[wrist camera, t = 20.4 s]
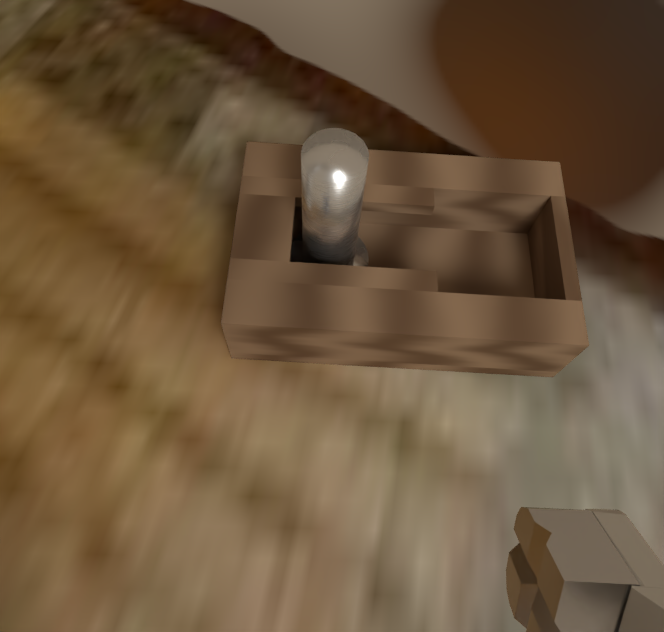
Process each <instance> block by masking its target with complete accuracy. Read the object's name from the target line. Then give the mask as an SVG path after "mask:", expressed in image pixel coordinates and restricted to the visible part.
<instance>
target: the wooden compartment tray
mask: <svg viewBox="0 0 664 632" xmlns="http://www.w3.org/2000/svg"><path fill="white" fill-rule="evenodd" d="M302 146H303V145H293V144H278V143H263V142H248V141H247V144H246V151H245V158H244V165H243V172H242V179H241V186H240V193H239V200H238V207H237V214H236V221H235V228H234V235H233V242H232V249H231V256H230V263H229V270H228V277H227V284H226V291H225V298H224V305H223V312H222V319H221V325H222V328H223V332H224V335H225V338H226V342H227V345H228V348H229V352H230V355H231V358H237V359H253V360H270V361H287V362H304V363H321V364H338V365H355V366H372V367H389V368H406V369H423V370H439V371H456V372H473V373H490V374H507V375H524V376H541V377H554V376H555V375H556V374H557V373H558V372H559V371H561V370H562V369H563V368H564V367H565V366H566V365H567V364H569V363H570V362H571V361H572V360H573V359H574V358H575V357H576V356H578V355H579V354H580V353H581V352H582V351H583V350H584V349H586V348H587V347H588V346H589V342H588V335H587V329H586V323H585V317H584V310H583V304H582V298H581V292H580V286H579V279H578V273H577V267H576V261H575V254H574V248H573V242H572V236H571V229H570V223H569V217H568V211H567V204H566V198H565V192H564V186H563V179H562V173H561V167H560V162H548V161H533V160H517V159H502V158H488V157H473V156H458V155H443V154H428V153H413V152H398V151H383V150H368V152H369V161H368V168H367V175H366V182H365V189H364V196H363V203H362V210H361V217H360V224H359V231H358V237H359V238H360V239H361V240H362V241H363V243H364V245H365V246H366V249H367V252H368V259H369V261H368V267H365V266H349V265H333V264H317V263H301V262H290V261H291V250H292V243H293V242H294V240H295V239H296V238H297V236H299V235H300V234H301V233H302V186H301V149H302Z"/></svg>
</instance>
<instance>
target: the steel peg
mask: <svg viewBox="0 0 664 632" xmlns="http://www.w3.org/2000/svg"><path fill="white" fill-rule="evenodd" d="M368 161H369V152H368V148H367V146H366V144H365V143H364V141H363V140H362V139H361V138H360V137H359V136H357V135H356V134H354V133H353V132H350V131H348V130H345V129H340V128H328V129H323V130H320V131H317V132H315V133H314V134H312V135H311V136H310V137H308V138H307V140H306V141H305V142H304V144H303V146H302V149H301V186H302V233H301V234H300V235H299V236H297V238H296V239H295V240H294V242H293V243H292V250H291V261H290V262H301V263H317V264H333V265H349V266H365V267H368V261H369V259H368V252H367V249H366V246H365V245H364V243H363V241H362V240H361V239H360V238H359V237H358V231H359V224H360V217H361V210H362V203H363V196H364V189H365V182H366V175H367V168H368Z"/></svg>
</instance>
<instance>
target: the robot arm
mask: <svg viewBox="0 0 664 632" xmlns="http://www.w3.org/2000/svg"><path fill="white" fill-rule="evenodd" d="M514 530H515V533H516V535H517V538H518V540H519V542H520V543H519V544H518V545H517V546H516V547H514V548H513V549H512V550H511V551H510V552H509V556H508V562H507V568H506V584H507V594H508V599H509V604H510V607H511V609H512V612H513V615H514V618H515V619H516V620H517V621H519V622H520V623H521V624H522V625H523V626H524V627H525V628H526V629H527V631H526V632H664V565H663V564H662V563H661V561H660V560H659V558H658V557H657V556H656V554H655V553H654V552H653V550H652V549H651V548H650V546H649V545H648V544H647V542H646V541H645V540H644V538H643V537H642V536H641V534H640V533H639V532H638V530H637V529H636V527H635V526H634V525H633V523H632V522H631V521H630V519H629V518H628V517H627V515H626V514H624V513H623V512H621V511H619V510H607V509H585V510H574V509H553V508H531V507H521V508H520V510H519V512H518V514H517V516H516V521H515V526H514Z"/></svg>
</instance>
